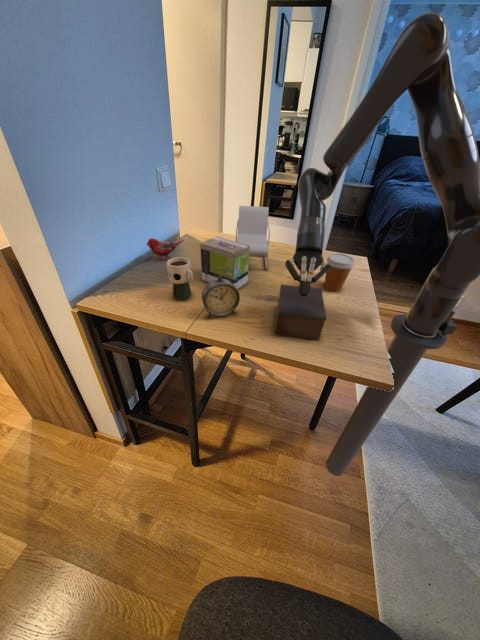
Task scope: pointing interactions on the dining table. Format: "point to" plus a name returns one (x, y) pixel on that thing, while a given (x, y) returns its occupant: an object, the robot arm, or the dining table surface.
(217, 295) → the alarm clock
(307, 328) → the dark brown box
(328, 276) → the disposable coffee cup
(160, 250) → the decorative bird figurine
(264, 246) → the chair
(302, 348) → the dining table surface
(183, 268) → the character mug
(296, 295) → the lid
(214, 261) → the tea box
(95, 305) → the dining table surface
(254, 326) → the dining table surface
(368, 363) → the dining table surface
